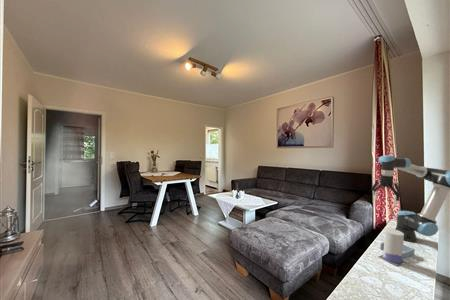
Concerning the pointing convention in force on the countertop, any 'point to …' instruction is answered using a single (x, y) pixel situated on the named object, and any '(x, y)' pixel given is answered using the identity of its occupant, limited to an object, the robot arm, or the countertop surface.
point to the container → (393, 245)
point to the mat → (392, 262)
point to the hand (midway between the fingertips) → (385, 201)
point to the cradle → (406, 250)
